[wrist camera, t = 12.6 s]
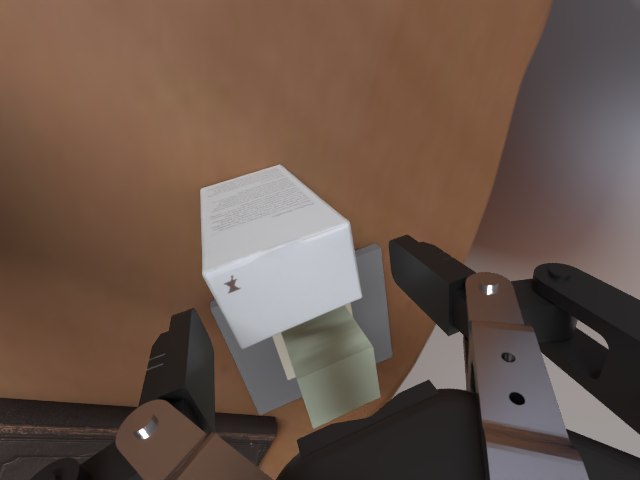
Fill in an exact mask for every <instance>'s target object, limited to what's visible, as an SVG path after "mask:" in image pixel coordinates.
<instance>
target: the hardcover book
mask: <svg viewBox="0 0 640 480" xmlns="http://www.w3.org/2000/svg"><path fill="white" fill-rule="evenodd" d="M137 408H138V407H124V406H110V405H95V404H81V403H66V402H52V401H37V400H22V399H8V398H0V480H30V479H31V478H32V477H33V476H34V475H35V474H36V473H38V472H39V471H40V470H41V469H43V468H44V467H46V466H47V465H49V464H50V463H52V462H54V461H57V460H59V459H62V458H69V457H70V458H74V459H76V460H77V461H78V462H79V463H80V464H82V463H83V462H85V461H86V460H88V459H89V458H91V457H92V456H94V455H95V454H97V453H98V452H100V451H101V450H103V449H104V448H106V447H107V446H108V445H110V444H111V443H113V442H114V441H115V440H116V435H117V432H118V430H119V428H120V426H121V424H122V423H123V422H124V420H125V419H126V418H127V417H128V416H129V415H130V414H131V413H132V412H133V411H134V410H135V409H137ZM215 434H216V435H218V436H219V437H220V438H221V439H223V440H224V441H225V442H226V443H228V444H229V445H230V446H231V447H233V448H234V449H235V450H237V451H238V452H239V453H240V454H242V455H243V456H244V457H245V458H247V459H248V460H249V461H250V462H252V463H253V464H254V465H255V466H257V467H258V465H259V463H260V462H261V460H262V458H263V457H264V455H265V454H266V452H267V450H268V449H269V447H270V445H271V444H272V442H273V440H274V439H275V437H276V435H277V422H276V419H275V417H270V416H256V415H241V414H227V413H215Z"/></svg>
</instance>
